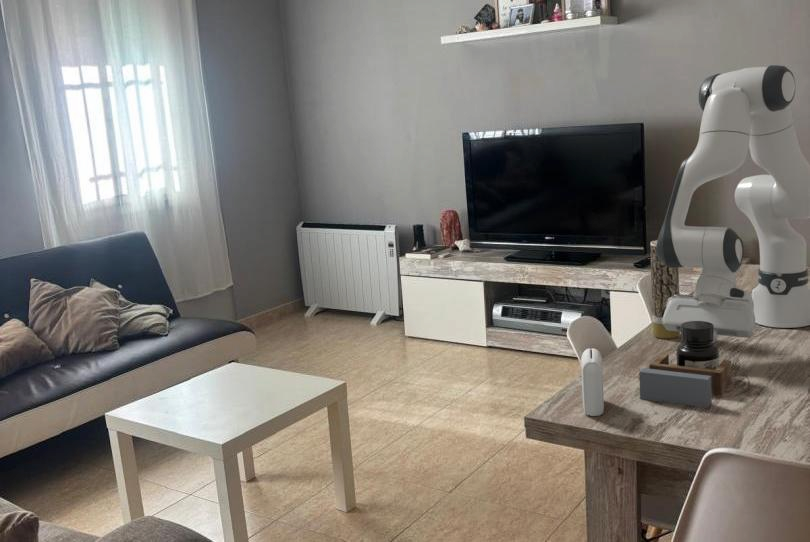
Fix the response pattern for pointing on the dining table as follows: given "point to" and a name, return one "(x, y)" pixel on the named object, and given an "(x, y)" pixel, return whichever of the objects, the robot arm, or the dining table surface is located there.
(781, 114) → the robot arm
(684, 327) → the ink bottle
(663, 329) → the paper tube
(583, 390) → the photo printer
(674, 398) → the wall
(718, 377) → the cradle
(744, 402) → the dining table surface
